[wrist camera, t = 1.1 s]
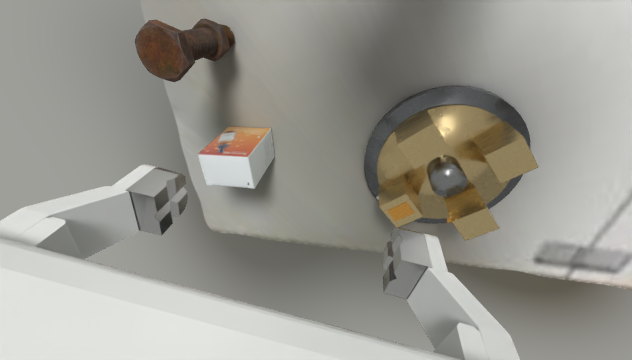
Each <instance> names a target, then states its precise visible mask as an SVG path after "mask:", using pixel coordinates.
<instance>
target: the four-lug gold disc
mask: <svg viewBox="0 0 632 360" xmlns="http://www.w3.org/2000/svg"><path fill="white" fill-rule="evenodd" d="M536 168H538V165H537V163H536V161H535V159H534V157H533V155H532V153H531V151H530V149H529V147H528V145H527V142H526V140H525V138H524V137H523V136H522V135H521V134H520V133H519V132H518V131H517V130H516V129H514V128H513V127H512V126H511V125H510V124H509V123H508V122H507V121H504V122H503V121H502V120H501V119H499V118H498V117H497V116H496V115H494V114H493V113H491V112H489V111H487V110H485V109H482V108H479V107H476V106H472V105H466V104H446V105H439V106H435V107H431V108H428V109H425V110H423V111H420V112H418V113H416V114H414V115H412V116H410V117H409V118H407V119H406V120H404V121H403V122H402V123H400V124H399V125H398V126H397V127H396V128H394V130H393V131H392V132H391V133H390V134H389V136H388V137H387V139H386V140H385V142H384V144H383V146H382V148H381V150H380V153H379V156H378V161H377V176H378V181H379V184H380V186H379V187H378V190H379V207H380V209H381V210H382V211H383V212H384V213H385V215H386V216H387V217H388V218H389V220H390V221H391V222H392V223H393V224H394V226H395V227H397V228H398V227H400V226H402V225H405V224H407V223H409V222H412V221H414V220H416V219H419V218H421V217H423V218H432V219H442V218H451V221H452V223H453V224H454V226H455V227H456V228H457V230H458V231H459V233H460V234H461V235H462V237H463V238H464V240H465V241H466V240H469V239H472V238H474V237H477V236H480V235H483V234H485V233H488V232H491V231H494V230H497V229H499V227H498V225H497V223H496V221H495V219H494V218H493V216H492V214H491V212H490V210H489V209H488V207H487V205H486V204H488V203H489V202H490V201H492V200H493V199H494V198H495V197H496V196H498V195H499V194H500V193H501V192H502V190H503V189H504V188H505V187H506V186H507V184H508V183H509V181H510V180H511V179H512V178H515V177H517V176H519V175H522V174H524V173H526V172H529V171H531V170H533V169H536Z"/></svg>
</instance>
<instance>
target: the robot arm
mask: <svg viewBox="0 0 632 360" xmlns="http://www.w3.org/2000/svg"><path fill="white" fill-rule="evenodd" d="M185 184H186V178H185V176H184V175H183V174H180V173H176V172H173V171H169V170H166V169H162V168H157V167H154V166H150V165H147V164H145V165H141V166H140V167H138V168H137V169H135V170H134V171H132V172H131V173H129V174H128V175H127V176H125V177H124V178H123V179H121V180H120V181H118V182H117V183H116V184H114V185H113V186H111V187H109V186H104V187H100V188H97V189H93V190H89V191H85V192H81V193H77V194H74V195H69V196H66V197H62V198H58V199H54V200H50V201H46V202H42V203H39V204H35V205H31V206H27V207H23V208H21V209H19V210H18V211H16V212H14V213H13V214H11V215H9V216H8V217H6V218H4V219H3V220H1V221H0V360H520V358H519V356H518V354H517V351H516V349H515V346H514V344H513V341H512V339H511V337H510V335H509V333H508V332H507V331H506V330H505V329H504V328H503V327H502V326H501V325H500V324H499V323H498V322H497V321H496V320H495V318H494V317H493V316H492V315H491V314H490V313H489V312H488V311H487V310H486V309H485V308H484V307H483V306H482V305H481V303H480V302H479V301H477V299H476V298H475V297H474V296H473V295H472V294H471V293H470V292H469V291H468V290H467V289H466V287H465V286H464V285H463V284H462V283H461V282H460V281H459V280H458V279H457V278H456V277H455V276H454V275H453V274H452V273H449V272H448V270H447V267H446V263H445V260H444V256H443V253H442V249H441V246H440V242H439V239H438V238H437V236H432V235H428V234H424V233H423V234H422V233H418V232H414V231H410V230H406V229H402V228H397V227H395V228H394V230H393V232H392V234H391V240H392V241H390V242H388V243H387V245H386V247H385V249H384V253H383V261H382V263H383V265H382V266H383V268H384V270H385V271H386V272H385V274H384V276H383V289H384V293H386V294H389V295H393V296H396V297H400V298H403V299H407V302H408V303H409V306H410V307H411V309H412V310H413V312H414V314H415V316H416V317H417V319H418V321H419V323H420V324H421V326H422V328H423V329H424V331H425V333H426V334H427V336H428V338H429V339H430V341H431V343H432V345H433V346H434V348H435V350H434V351H433V352H431V351H426V350H423V349H419V348H415V347H411V346H408V345H404V344H400V343H397V342H393V341H389V340H386V339H381V338H378V337H374V336H370V335H367V334H363V333H359V332H355V331H352V330H348V329H344V328H340V327H337V326H332V325H329V324H325V323H321V322H318V321H314V320H310V319H306V318H302V317H298V316H295V315H291V314H287V313H284V312H280V311H276V310H272V309H268V308H265V307H261V306H257V305H253V304H249V303H245V302H242V301H238V300H235V299H231V298H227V297H223V296H219V295H216V294H212V293H208V292H205V291H201V290H197V289H193V288H190V287H186V286H182V285H178V284H174V283H171V282H167V281H163V280H159V279H155V278H151V277H148V276H144V275H140V274H136V273H132V272H129V271H125V270H122V269H118V268H114V267H110V266H106V265H103V264H99V263H95V262H92V261H88V260H84V259H85V258H87V257H89V256H91V255H93V254H95V253H97V252H99V251H101V250H103V249H105V248H107V247H109V246H111V245H113V244H115V243H117V242H119V241H121V240H123V239H125V238H127V237H129V236H131V235H133V234H135V233H137V232H139V230H140V231H144V232H148V233H153V234H158V235H163V233H164V232H165V231H166V230H167V229H168V228H169V227H170V225H172V218H174V217H177V216H179V215H180V214H181V213H182V212H183V211H184V209H185V207H186V204H187V200H188V195H187V192H186V190H185V189H184V188H183V186H184V185H185Z"/></svg>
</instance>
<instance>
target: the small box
mask: <svg viewBox="0 0 632 360" xmlns="http://www.w3.org/2000/svg"><path fill="white" fill-rule="evenodd" d="M198 156H199V160H200V164H201V167H202V170H203V174H204V177H205V181H206V184H207V185H216V186H231V187H243V188H252V189H255V187H256V186H257V184H258V182H259V181H260V179H261V178H262V176H263V174H264V173H265V171H266V169H267V168H268V166H269V165H270V163H271V162H272V160H273V158H274V157H275V155H274V147H273V139H272V131H271V128H249V127H228V128H227V129H225V130H224V131H223V132H222V133H221V134H220V135H219V136H218V137H216V138H215V139H214V140H213V141H212V142H211V143H210V144H209V145H207V146H206V147H205V148H204V149H203V150H202V151H201V152H199V153H198Z"/></svg>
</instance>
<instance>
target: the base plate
mask: <svg viewBox="0 0 632 360" xmlns="http://www.w3.org/2000/svg"><path fill="white" fill-rule="evenodd" d="M446 104H466V105H472V106H476V107H479V108H482V109H485V110H487V111H489V112H491V113H493V114H494V115H496V116H497V117H498V118H499V119H501V120H502V121H503V122H504V121H507V122H508V123H509V124H510V125H511V126H512V127H513V128H514V129H516V130H517V131H518V132H519V133H520V134H521V135H522V136H523V137H524V138H525V140H526V142H527V145H528V147H529V149H530V138H529V132H528V130H527V127H526V124H525V122H524V121H523V119H522V117H521V116H520V115H519V113H518V112H517V111H516V110H515V109H514V108H513V107H512V106H511V105H509V104H508V103H507V102H506V101H504V100H503V99H502V98H500V97H498V96H497V95H495V94H493V93H491V92H488V91H485V90H483V89H479V88H475V87H470V86H444V87H438V88H433V89H430V90H426V91H423V92H420V93H418V94H416V95H413V96H411V97H409V98H408V99H406V100H404V101H402V102H401V103H399V104H398V105H397V106H395V107H394V108H393V109H391V110H390V111H389V112H388V113H387V114H386V115H385V116H384V117H383V118H382V120H381V121H380V122H379V123H378V124H377V126H376V128H375V129H374V131H373V132H372V135H371V137H370V139H369V141H368V145H367V148H366V154H365V174H366V179H367V182H368V185H369V187H370V189H371V191H372V193H373V194H374V196H375V197H376V199H377V200H378V201H379V190H378V187H379V186H380V184H379V181H378V176H377V161H378V156H379V153H380V150H381V148H382V146H383V144H384V142H385V140H386V139H387V137H388V136H389V134H390V133H391V132H392V131H393V130H394V128H396V127H397V126H398V125H399V124H400V123H402V122H403V121H404V120H406V119H407V118H409V117H410V116H412V115H414V114H416V113H418V112H420V111H423V110H425V109H428V108H431V107H435V106H439V105H446ZM522 175H523V174H522ZM522 175H519V176H517V177H515V178H512V179H511V180H510V181H509V183H508V184H507V186H506V187H505V188H504V189H503V190H502V192H501V193H500V194H499V195H498V196H496V197H495V198H494V199H493V200H492V201H490V202H489V203H488V204H486V205H487V207H488V209H489V208H491V207H493V206H494V205H495V204H497V203H498V202H500V201H501V200H502V199H503V198H504V197H506V196H507V195H508V194H509V193H510V192H511V191H512V189H513V188H514V187H515V186H516V185H517V183H518V182H519V180H520V179H521V177H522ZM414 221H418V222H424V223H451V222H452V221H451V218H442V219H432V218H423V217H421V218H419V219H416V220H414Z"/></svg>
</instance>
